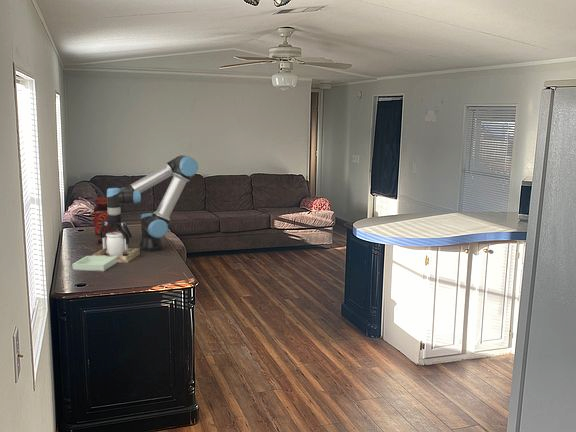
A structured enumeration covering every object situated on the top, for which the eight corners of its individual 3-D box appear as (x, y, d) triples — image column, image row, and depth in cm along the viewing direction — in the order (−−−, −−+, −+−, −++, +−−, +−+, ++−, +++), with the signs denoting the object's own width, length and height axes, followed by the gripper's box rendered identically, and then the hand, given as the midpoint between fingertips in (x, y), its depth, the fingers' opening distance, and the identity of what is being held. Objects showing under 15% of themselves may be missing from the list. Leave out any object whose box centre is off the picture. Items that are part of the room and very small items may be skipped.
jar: (108, 260, 338) (107, 235, 335) (105, 256, 347) (104, 232, 344) (127, 258, 343) (125, 234, 340) (123, 254, 352) (122, 230, 349)
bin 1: (116, 262, 334) (116, 256, 333) (103, 271, 316) (103, 265, 316) (87, 261, 336) (87, 255, 335) (72, 270, 318) (72, 263, 318)
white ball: (136, 254, 352) (136, 249, 352) (134, 256, 349) (134, 250, 349) (131, 254, 353) (131, 249, 352) (129, 255, 350) (129, 250, 349)
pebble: (112, 253, 354) (111, 248, 353) (110, 255, 351) (109, 250, 350) (107, 253, 354) (107, 248, 354) (105, 254, 351) (104, 249, 351)
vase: (117, 239, 391) (114, 196, 386) (117, 244, 379) (115, 199, 373) (95, 241, 387) (93, 197, 381) (95, 245, 374) (93, 200, 369)
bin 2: (139, 254, 354) (139, 248, 353) (127, 262, 334) (127, 256, 334) (105, 252, 356) (105, 247, 355) (91, 261, 337) (91, 255, 336)
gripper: (136, 213, 343) (137, 248, 346) (96, 212, 345) (98, 246, 349) (131, 216, 335) (133, 251, 339) (91, 214, 338) (92, 249, 342)
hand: (115, 248), depth 344 cm, fingers open, 13 cm apart
